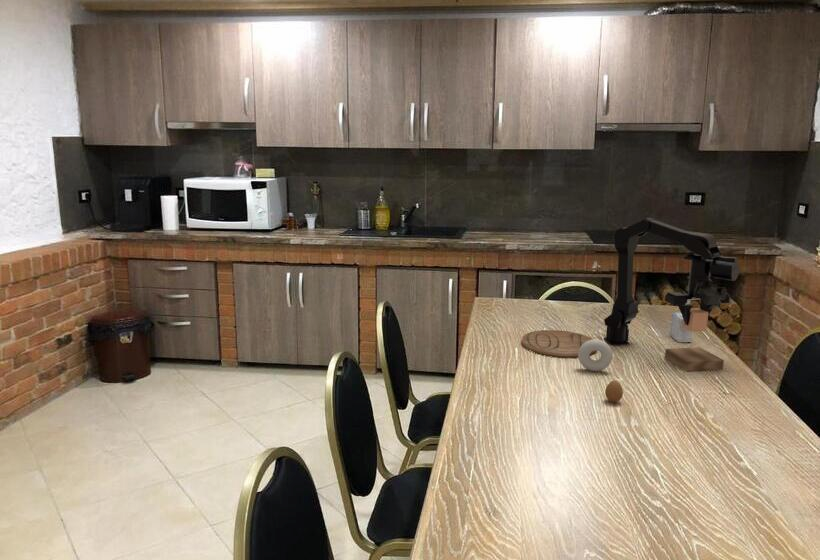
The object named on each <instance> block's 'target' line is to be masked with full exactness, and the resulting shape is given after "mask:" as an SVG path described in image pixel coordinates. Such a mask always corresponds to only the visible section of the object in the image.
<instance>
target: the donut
mask: <svg viewBox="0 0 820 560" xmlns="http://www.w3.org/2000/svg"><path fill="white" fill-rule="evenodd" d="M592 339H593V340H589V341H586V342H585V343H584V344H582V346H581V347H580V349H579V352H578V358H577V359H578V361H579V363H580V365H582V367H583V368H584V369H587V370H588V371H591V372H601V371H604V370H605V369H607V368H608V367H609V366H610V365H611V363H612V362H613V350H612V348H611V346H609V345H610V344H608V342H605V340H601V339H596V338H595V339H594V338H592ZM595 350H596V351H597V352H599V353H600V357H599V358H598V359H595V360H594V359H592V358H591V356H590V353H591V352H592V351H595Z"/></svg>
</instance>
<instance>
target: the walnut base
mask: <svg viewBox="0 0 820 560" xmlns="http://www.w3.org/2000/svg"><path fill="white" fill-rule="evenodd" d="M664 358H665V359H666V360H668V362H669V361H670V362H671V363H673V364H674V365H676V366H677V367H679V368H681V369H683V370H684V371H685V370H686V371H685V372H696V371H697V372H698V371H699V370H702V371H714V370H715V371H717V370H718V371H719V370H723V369H724V361H725V360H724V359H722V358H720V357H719V356H717V355H715V354H713V353H712V352H710V351H707V349H704V348H702V347H699V346H697V347H695V346H694V347H681V348H680V347H678V348H665V352H664ZM699 372H700V371H699Z"/></svg>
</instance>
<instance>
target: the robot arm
mask: <svg viewBox="0 0 820 560" xmlns="http://www.w3.org/2000/svg"><path fill="white" fill-rule="evenodd" d="M647 233H650V234H653V235H656V236H659V237H662V238H664V239H666V240H670V241H673V242H674V243H675V242H676V243H678V244H679V245H681V246H683V247H684V248H685V249H686V250H688V251H689V253H688V254H687V255H686V256H684V258H683V259H684V260H686V261H687V260H688V261H690V267H689V268H690V269H689V276H686V281H688V287H687V289H685V292H684V293H685V294H683V293H681V292H678V291H672V292H671V291H669V292H667V293H665V296H664V301H665V302H667V303H668V304H671V305H673V306H677V307H678V309H679V311H680V313H681V314H682V317H683V319H684V322H685V324H686V325H688V324H689V319H690V310H691V309H692V308H693V307H694V305H693V304H691V302H693V301H694V302H695V301H697V302H698V301H700V308H699V309H701V310H704V311H706V312H708V317H709V316H710V314H711V312H712V311H713V310H714V308H716V307H719V306H720V305H721V304H730V301H731V297H730V293H728V292H727V289H726V287H724V286H722V287H721V286H720V287H714V286H713V285H714V282H713V280H712V279H710V278H711V276H712V277H713V278H714V279H720V280H727V281H733V282H735V281H736V280H737V278H738V277H739V274H740V270H741V269H740V266H739V261H738V257H735V256H734V257H733V256H732V257H731V256H724V255H723V254H722V251H721V250H720V248H719V246H718V245H717V240H716V238H715V236H714V235H713V234H710V233H705V232H698V231H690V230H688V231H687V230H685V229H683V228H679V227H676V226H673V225H670V224H667V223H664V222H662V221H660V220H656V219H654V217H653V218H652V217H647V218H643V219H641V220H640V221H638V222H636V223H633V224H632V225H629V226H627V227H626V226H625V227H620V228H618V229H616V230H615V231H614V232H613V239H612V240H613V245H614V248H615V250H616V252H617V287H616V289H617V292H616V293H617V295H616V298H615V299H614V302H613V304H612V309H611V314H610V315H608V316H607V317H605V318H604V319H603V322H604V325H605V326H606V330H605V332H606V333H605V337H603V341H604V342H605V341H606V343H607V344H608V343H609V345H612V346H617V345H619V346H620V345H630V342H629V336H630V335H629V334H630V329H629V324H631V322H632V321H633V320H634V319H635V318H637V315H638V313H639V312H640V311H639V308H638V307H639V300H637V301H636V300H634V296H633V277H634V254H635V251H636V250H637V247H638V245H639V244H638V243H639V239H640V237H642V236H645V235H646V234H647Z"/></svg>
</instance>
